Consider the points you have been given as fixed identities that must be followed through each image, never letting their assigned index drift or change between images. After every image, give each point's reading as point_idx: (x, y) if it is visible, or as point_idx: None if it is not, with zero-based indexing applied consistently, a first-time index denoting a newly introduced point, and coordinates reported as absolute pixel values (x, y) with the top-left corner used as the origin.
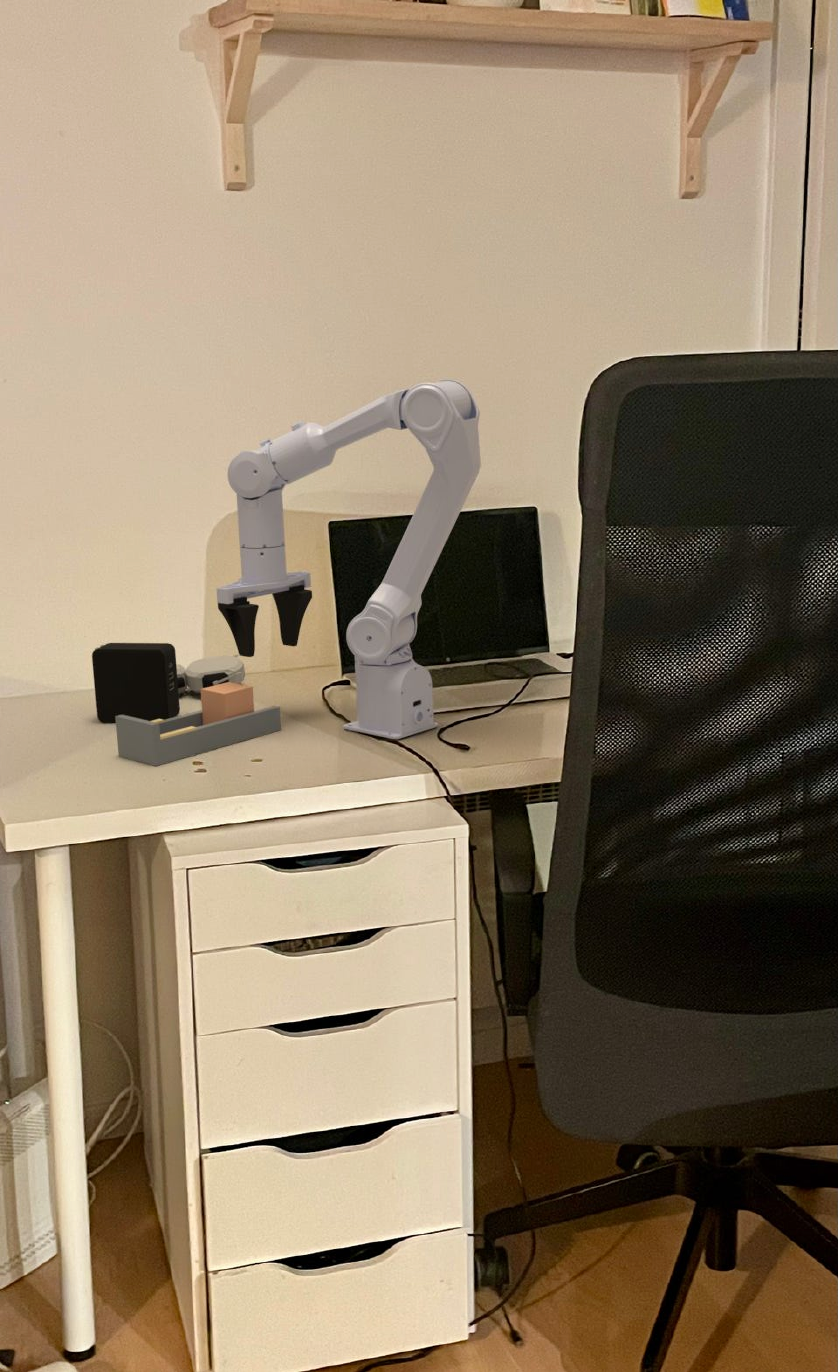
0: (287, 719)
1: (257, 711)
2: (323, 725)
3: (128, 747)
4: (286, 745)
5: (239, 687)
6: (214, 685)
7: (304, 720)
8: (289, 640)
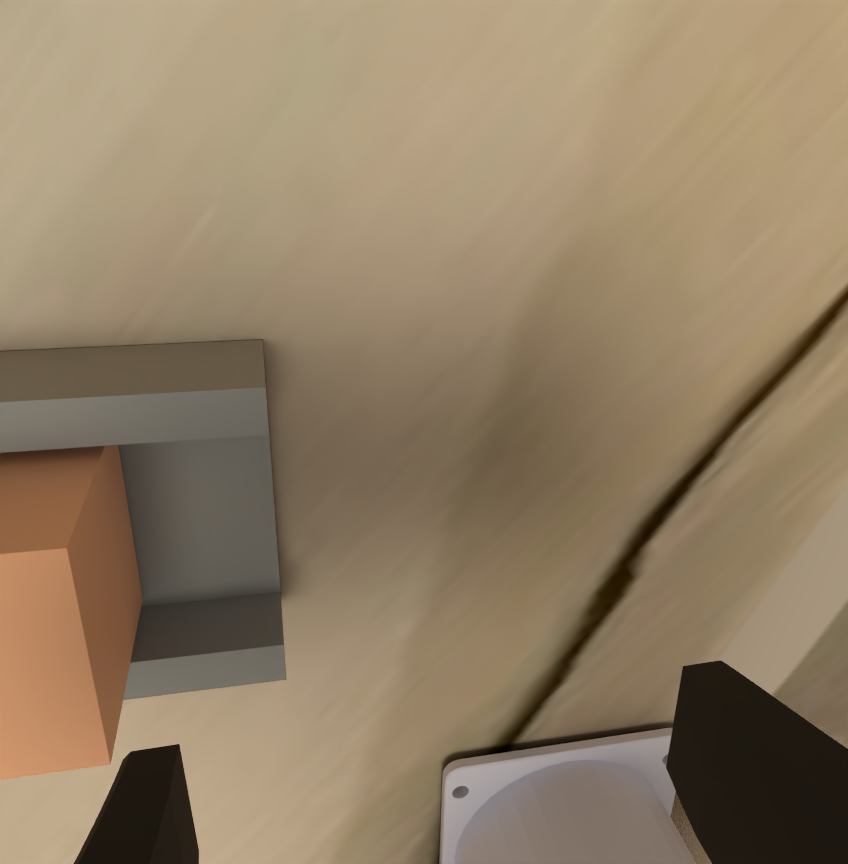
0: (438, 474)
1: (136, 673)
2: (453, 660)
3: None
4: None
5: (27, 725)
6: None
7: (470, 545)
8: (696, 770)
